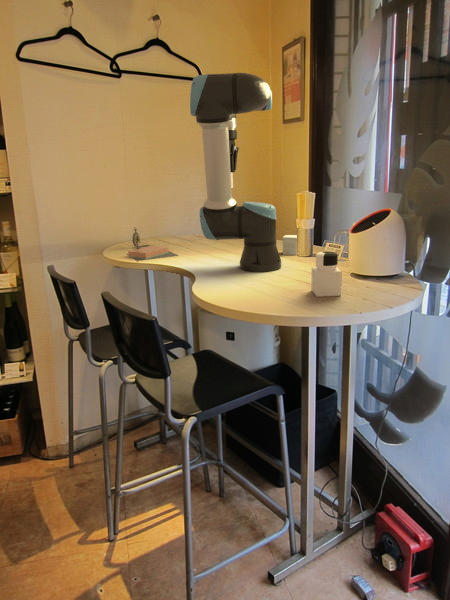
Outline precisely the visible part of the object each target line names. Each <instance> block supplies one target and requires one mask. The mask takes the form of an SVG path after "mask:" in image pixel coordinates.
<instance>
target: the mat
mask: <svg viewBox="0 0 450 600" xmlns="http://www.w3.org/2000/svg"><path fill="white" fill-rule="evenodd" d="M126 255H127V256H128V257H129V255H128V253H126ZM172 257H180V255H179V254H177V253H174V252H172V251H170V250H169V253H168V254H164V255H160V256H157V257H153V258H149V259H139V258H132V259H133V260H135V261H136V262H137V263H139V262H140V261H149V260H156V259H165V258H172Z"/></svg>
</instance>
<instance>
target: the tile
mask: <svg viewBox="0 0 450 600" xmlns="http://www.w3.org/2000/svg"><path fill="white" fill-rule="evenodd" d="M169 251H170V250H169V247H168V246H159V245H150V246H148V247H139V249H137V248H136V249H132V250H128V251H127V252H128V253H127V254H128V255H129V256H128V255H127V256H128V258H131V259H133V258H139V259H149V258H153V257H157V256H160V255H164V254H168V253H169Z"/></svg>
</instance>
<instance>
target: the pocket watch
mask: <svg viewBox="0 0 450 600" xmlns="http://www.w3.org/2000/svg"><path fill="white" fill-rule="evenodd" d="M133 229H134V232H133V233H132V245H133V246H134V247H136V249H139V248H144V247H148V246H151V245H149V244H148V245H147V244H145V245H144V244H143V245H140V242H141V240H140V239H141V238H140V234H139V233H138V232H137V227H135V226H134V227H133Z"/></svg>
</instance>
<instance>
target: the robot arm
mask: <svg viewBox="0 0 450 600" xmlns="http://www.w3.org/2000/svg"><path fill="white" fill-rule="evenodd" d="M189 95H190V96H189V97H190V98H189V99H190V100H189V109H190V115H191V116H192V117H195V119H196V123H197V124H198V125H199V126H200V127H201V135H202V146H203V160H204V175H205V187H206V199H205V200H204V202H203V203H202V204H203V206H202V207H200V209H199V221H200V227H201V232H202V233H203V236H204V237H205V238H206V239H207V240H213V241H214V240H215V241H221V240H222V241H224V240H225V241H226V240H227V241H228V240H243V250H242V253H241V257H240V260H239V269H241V270H242V271H247V272H254V273H255V272H258V273H259V272H270V271H276V270H279V269H281V268H282V259H281V255H280V253H279V250H278V247H277V219H278V218H277V210H276V209H277V208H276V207H275V206H274V205H273V204H271V203H266V202H258V201H244V202H243V203H242V205H241V206H240V205H239V206H238V205H237V200H236V199H235V198H234V197H233V194H232V189H233V188H234V173H235V172H236V170H237V164H238V163H237V162H238V153H239V150H240V148H239V147H238V146H236V141H235V140H237V139H238V134H237V133H238V131H237V130H236V129H237V128H238V127H237V126H238V125H237V114H238V115H240V114H246V113H251V112H260V111H261V112H264V111H270V110H272V109H273V92H272V90H271V88H270V85H269V84H268V83H267V81H266V80H264V79H263V78H262V77H260V76H258V75H255V74H251V73H246V72H231V73H229V72H228V73H227V72H226V73H209V74H208V73H207V74H199V75H196V76H195V77H193V79H192V81H191V86H190V94H189Z"/></svg>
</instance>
